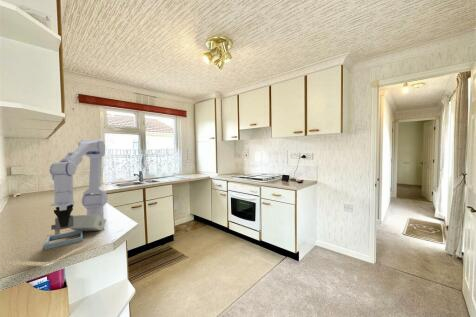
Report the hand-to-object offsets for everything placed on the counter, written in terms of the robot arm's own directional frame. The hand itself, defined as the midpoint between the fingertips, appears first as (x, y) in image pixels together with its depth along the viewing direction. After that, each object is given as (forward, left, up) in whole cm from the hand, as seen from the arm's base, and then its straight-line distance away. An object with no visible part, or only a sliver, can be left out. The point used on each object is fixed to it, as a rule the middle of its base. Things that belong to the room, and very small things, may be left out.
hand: (64, 224), depth 79 cm
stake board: (-11, -1, -7) cm, 13 cm away
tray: (0, 0, -7) cm, 7 cm away
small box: (-3, +12, -3) cm, 13 cm away
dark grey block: (0, 0, -1) cm, 1 cm away
